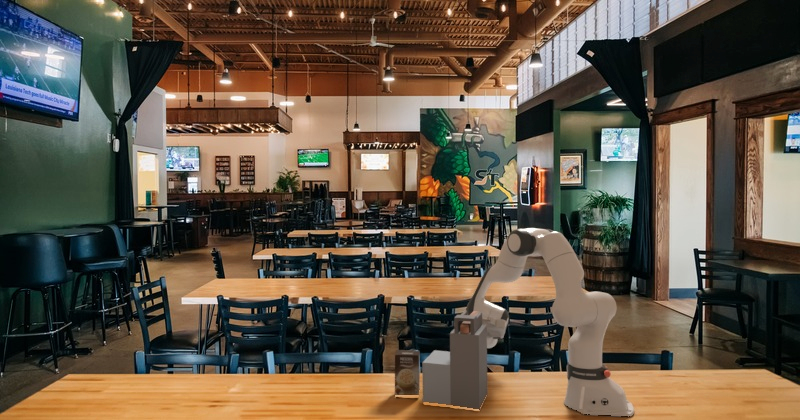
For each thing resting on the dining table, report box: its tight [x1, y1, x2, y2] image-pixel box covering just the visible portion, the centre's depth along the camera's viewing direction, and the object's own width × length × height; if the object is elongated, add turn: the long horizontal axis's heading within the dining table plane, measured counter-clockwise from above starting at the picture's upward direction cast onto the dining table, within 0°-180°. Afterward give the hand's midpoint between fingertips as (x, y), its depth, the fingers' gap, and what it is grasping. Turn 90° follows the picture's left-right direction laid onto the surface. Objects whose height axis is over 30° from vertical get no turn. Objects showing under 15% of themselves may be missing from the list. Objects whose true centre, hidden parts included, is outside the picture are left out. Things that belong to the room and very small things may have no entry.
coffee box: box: [394, 349, 421, 396], centre depth 191 cm, size 9×6×16 cm
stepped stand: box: [421, 310, 488, 411], centre depth 186 cm, size 20×16×32 cm
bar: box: [460, 311, 481, 334], centre depth 189 cm, size 3×24×3 cm, turn 161°
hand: (477, 318), depth 198 cm, fingers open, 8 cm apart
